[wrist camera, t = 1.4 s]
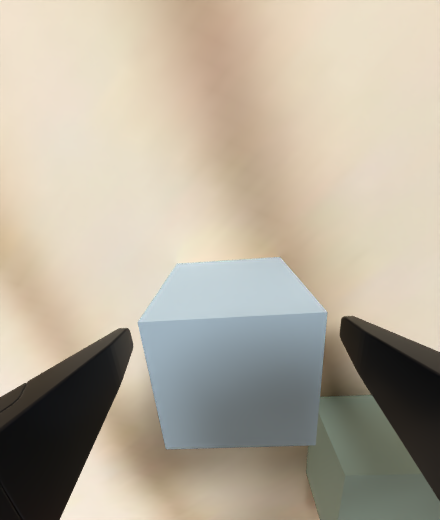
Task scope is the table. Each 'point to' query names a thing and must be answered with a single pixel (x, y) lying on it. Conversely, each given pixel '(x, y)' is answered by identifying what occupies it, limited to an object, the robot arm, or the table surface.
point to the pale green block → (364, 466)
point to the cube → (235, 355)
